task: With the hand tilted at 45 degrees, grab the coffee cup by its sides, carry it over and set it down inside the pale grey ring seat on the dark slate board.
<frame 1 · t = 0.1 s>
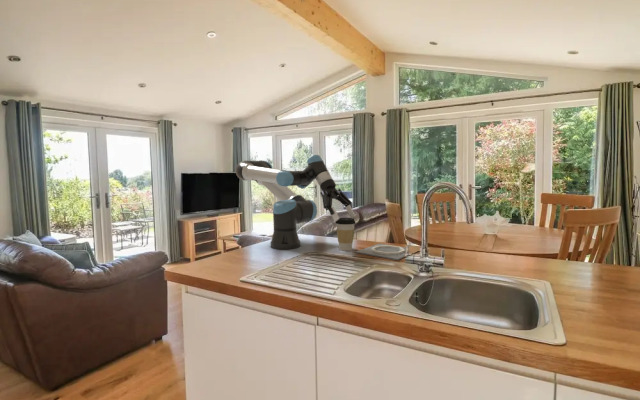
hand: (345, 218, 170), 15 cm above the worktop, tool tilted 35°, fingers open, 13 cm apart
coffee cup: (345, 249, 172), on the worktop
slate board: (387, 251, 166), on the worktop
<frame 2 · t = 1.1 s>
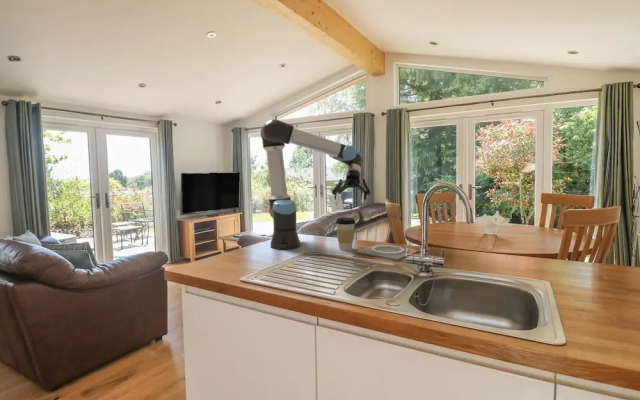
hand: (349, 204, 180), 21 cm above the worktop, tool tilted 45°, fingers open, 13 cm apart
nothing on the worktop moved.
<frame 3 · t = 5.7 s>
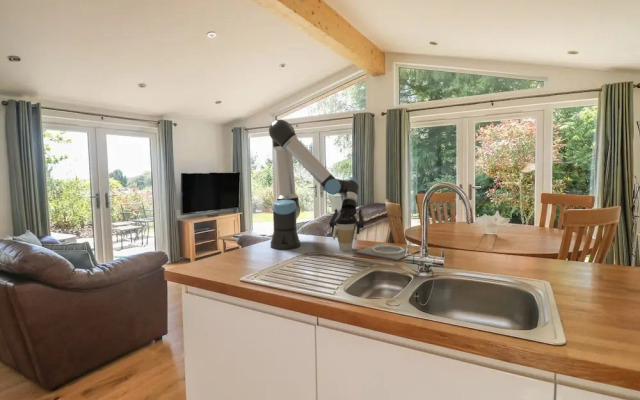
hand: (344, 238, 168), 6 cm above the worktop, tool tilted 45°, fingers closed on coffee cup, 10 cm apart
coffee cup: (345, 249, 172), on the worktop, touching gripper
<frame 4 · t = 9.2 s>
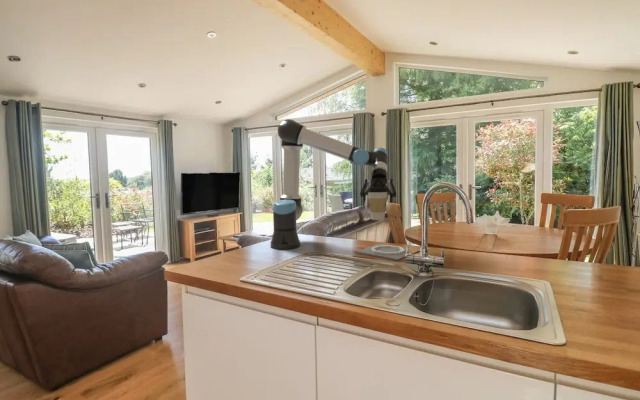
hand: (377, 207, 163), 21 cm above the worktop, tool tilted 45°, fingers closed on coffee cup, 10 cm apart
coffee cup: (377, 219, 166), point 15 cm above the worktop, touching gripper
when the fingers open (8 cm above the worktop, at t = 12.9 s): coffee cup drops 2 cm, resting on slate board.
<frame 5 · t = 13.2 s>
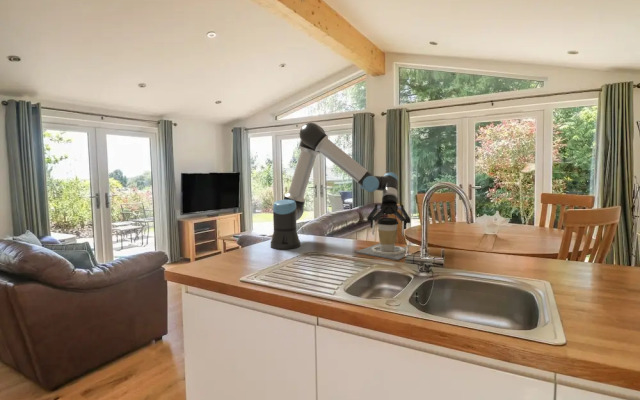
hand: (387, 233, 163), 9 cm above the worktop, tool tilted 45°, fingers open, 13 cm apart
coffee cup: (387, 250, 166), resting on slate board
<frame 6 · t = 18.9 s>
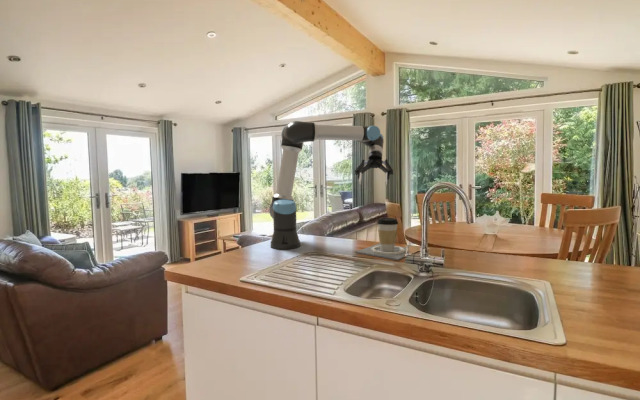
hand: (372, 183, 182), 32 cm above the worktop, tool tilted 45°, fingers open, 13 cm apart
nothing on the worktop moved.
at the end: coffee cup 0.3 cm off-centre on the slate board, point 0.4 cm above the slate board's base; coffee cup tilted 0°; the gripper is holding nothing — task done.
